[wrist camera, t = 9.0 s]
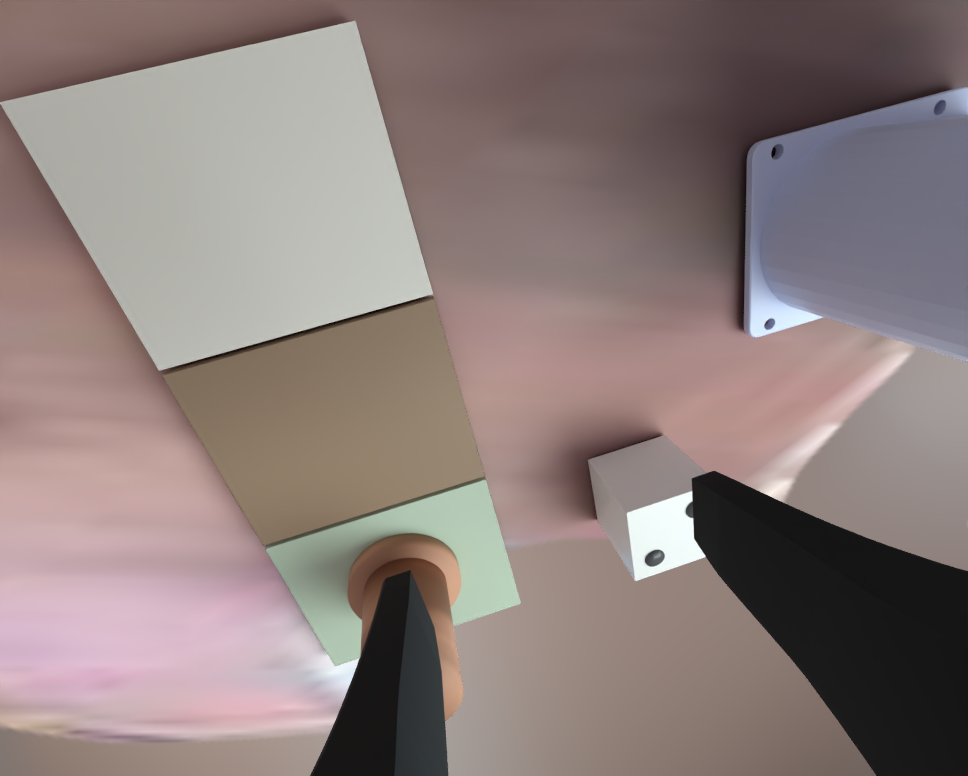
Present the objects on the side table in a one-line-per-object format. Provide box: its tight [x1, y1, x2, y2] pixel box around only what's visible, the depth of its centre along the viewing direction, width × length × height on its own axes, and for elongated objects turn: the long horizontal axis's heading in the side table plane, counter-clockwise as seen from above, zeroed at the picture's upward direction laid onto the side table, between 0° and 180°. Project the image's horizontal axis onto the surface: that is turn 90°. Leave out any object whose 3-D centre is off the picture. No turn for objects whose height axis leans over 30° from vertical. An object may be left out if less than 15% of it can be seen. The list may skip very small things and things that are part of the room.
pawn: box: [348, 533, 463, 721], centre depth 20 cm, size 5×5×6 cm
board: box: [0, 21, 521, 666], centre depth 19 cm, size 10×25×1 cm, turn 13°
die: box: [588, 435, 706, 581], centre depth 22 cm, size 4×4×4 cm
